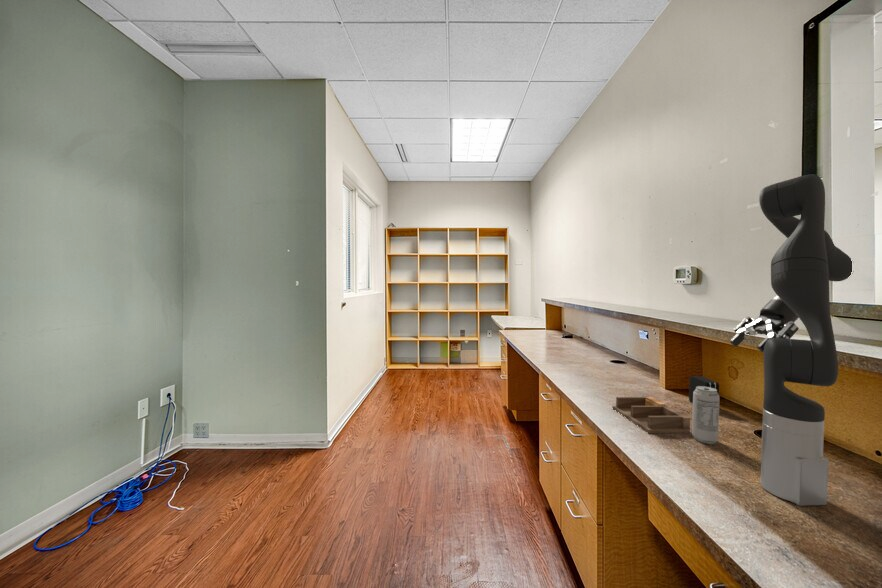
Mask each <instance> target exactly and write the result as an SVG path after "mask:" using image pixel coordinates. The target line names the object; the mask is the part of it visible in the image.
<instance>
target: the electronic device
mask: <svg viewBox="0 0 882 588" xmlns="http://www.w3.org/2000/svg"><path fill="white" fill-rule="evenodd" d="M688 382H689V387H688V392H689V393H688V396H689V397H688V401H689V402H690V403H691V404H693V392H694V391H695V389H696V386H706V387H711V388H714V389H716V390H717V393H718V395H719V396H720V384H719V382H717V381H714V380H712V379H710V378H707V377H705V376H703V375H702V376H701V375H700V376H699V375H698V376H697V375H696V376H695V375H690V376H689V381H688Z"/></svg>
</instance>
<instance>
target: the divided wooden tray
mask: <svg viewBox="0 0 882 588" xmlns="http://www.w3.org/2000/svg"><path fill="white" fill-rule="evenodd" d="M615 399H616V401H615V405H612V408H613V409H614V410H613V409H612V408H611V409H612V410H613V411H615V410H616V411H617V412H616V411H615V412H616V413H618V412H619V413H620V414H619V413H618V414H619V415H621V414H622V415H623V416H622V415H621V416H622V417H624V416H625V417H626V418H625V417H624V418H625V419H627V420H628V419H629V420H628V421H630V422H631V421H632V422H631V423H633V424H634V423H635V424H634V425H636V426H637V425H638V426H637V427H639V428H640V427H641V428H642V429H641V428H640V429H641V430H643V431H644V430H645V431H644V432H646V433H647V432H648V434H665V433H666V434H670V433H671V434H672V433H673V434H674V433H675V434H676V433H683V434H684V433H690V432H691V417H690V416H687V415H686V414H684V413H682V412H680V411H678V410H676V409H673V408H672V407H670V406H668V405H666V403H664V402H661V401H660V400H657V399H655V397H651V396H648V395H643V396H616V398H615Z"/></svg>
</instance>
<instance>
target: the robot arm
mask: <svg viewBox="0 0 882 588" xmlns="http://www.w3.org/2000/svg"><path fill="white" fill-rule="evenodd" d="M758 201H759V206H760V209H761V211H762V213H763V215H764V217H765V218H766V219H767V220H768V221H769V222H770V223H771V224H772V226H774V227H775V228H776V230H778V231H779V232H780V233H781V234H782V235H783V236H785V238H787V239H786V240H784V242H783V243H782V244H781V246H780V247H779V248H778V249H777V250H776V252H775V253H774V254H773V256H772V258H771V262H770V285H771V288H772V290H773V292H774V293H775V295H774V296H773V297H772V298H771V299H770V300H769V301H768V302H767V303H766V304H765V305H764V306H763V307H762V308H761V309H760V311H759V316H757V317H756V318H751V317H750V316H749V315H748V316H746V317H744V318H743V319H742V320H741V321H740V322H739V323H737V325H736V326H734V328H733V329H732V330H733V331H734V333H736V334H735V335H734V336H733V337H732V338H731V339H730V344H731V345H732V346H734V347H738V346H739V345H741V343H742V342H743V341H744V340H745V339H746V338H744V335H745V334H749V335H750V336H753V335H754V336H757V335H765V336H767V337H765V338H764V339H763V340H762V341H761V342H760V343H759V344H758V345H757V349H758V350H759V351H760V352H761V353H763V356H762V357H763V359H762V361H763V374H764V376H763V378H764V380H763V382H764V383H763V384H764V387H763V388H764V389H763V403H762V404H763V405H762V406H763V407H762V425H761V427H762V428H761V429H762V431H761V454H760V456H761V457H760V459H761V460H760V486H761V487H762V488H763V489H764V490H765V491H767V492H768V493H770V494H771V495H774V496H775V497H778V498H780V499H782V500H785V501H789V502H791V503H793V504H795V505H797V506H799V507H800V506H802V507H805V506H827V504H828V487H829V485H828V484H829V483H828V482H829V462H830V460H829V459H828V458H826V457H824V439H825V438H824V433H825V420H826V419H825V417H826V416H825V415H826V411H825V407H824V406H823V405H822V404H820V403H819V402H817V401H815V400H813V399H810V398H807V397H805V396H803V395H800V394H798V393H796V392H794V391H792V390H790V389H789V388H787V387H786V386H785V382H787V383H795V384H802V385H811V386H818V387H831V386H833V385H834V384H836V382H837V380H838V376H839V359H838V353H837V352H838V351H837V347H836V346H837V345H836V341H835V335H834V329H833V322H832V316H831V307H830V305H831V304H830V303H831V302H830V282H843V281H845V280H847V279H849V278H850V277H851V276H852V275H851V272H852V261H853V260H852V261H851V259H852V258H851V257H850V256H849V255H848V254H847V253H846V252H844V251H843V250H842V249H840V248H839V247H837V246H836V245H835V244H834V241H833V239H832V237H831V236H830V235H829V232H827V230H826V229H825V218H826V217H825V216H826V214H825V213H826V189H825V185H824V182H823V179H822V177H820V176H819V175H818V174H813V173H811V174H805V175H801V176H797V177H793V178H790V179H787V180H783V181H779V182H777V183H771V184H770V185H767V186H765V187H763V188H762V189H761V190H760V192H759V199H758ZM796 216H797V217H798V216H800V219H799V218H797V217H796ZM850 275H851V276H850ZM849 276H850V277H849ZM848 277H849V278H848ZM798 319H799V321H801V323H802V324H803V325H804V326H805V329H806V331H807V333H808V334H807V335H808V336H809V339H810V340H808V339H799V338H798V339H796V338H793V339H792V337H794V335H795V334H796V333H797V332H798V331H799V327H798V326H797V324H795V322H796V321H797V320H798ZM745 332H746V333H745Z"/></svg>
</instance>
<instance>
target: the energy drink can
mask: <svg viewBox="0 0 882 588" xmlns="http://www.w3.org/2000/svg"><path fill="white" fill-rule="evenodd" d="M691 417H692V419H691V420H692V421H691V425H692V426H691V429H692V430H691V435H692V437H694V439H695V440H696V441H698V442H700V443H703V444H708V445H714V444H716V442H718V441H719V427H720V425H719V423H720V421H719V419H720V394H719V395H718V393H717V390H716V389H714V388H711V387H706V386H696V389H695V391H694V392H693V403H692V416H691Z"/></svg>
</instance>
